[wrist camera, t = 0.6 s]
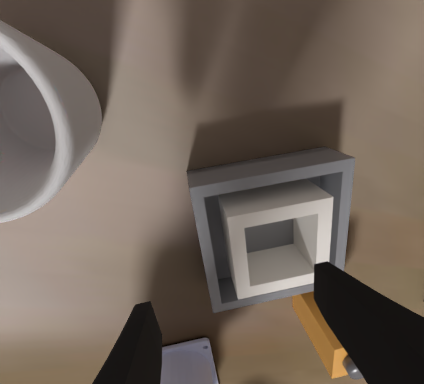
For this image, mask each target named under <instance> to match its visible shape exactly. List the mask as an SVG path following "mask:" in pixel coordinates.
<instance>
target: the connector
mask: <svg viewBox="0 0 424 384" xmlns="http://www.w3.org/2000/svg"><path fill="white" fill-rule="evenodd" d="M293 308H294V310H295V312H296V314H297V316H298V318H299V319H300V321H301V323H302V325H303V327H304V329H305V330H306V332H307V334H308V336H309V338H310V340H311V341H312V343H313V345H314V347H315V349H316V351H317V352H318V354H319V356H320V358H321V360H322V362H323V363H324V365H325V367H326V369H327V371H328V373H329V375H330V376H331V378H332V379H333V378H337V377H341V376H345V375H349V376H350V378H352V379H361V378H364V377H363V376H362V374H361V373H360V371H359V370H358V368H357V367H356V365H355V364H354V362H353V361H352V360H351V358H350V357H349V355H348V354H347V352H346V351H345V349H344V348H343V346H342V345H341V343H340V342H339V341H338V339H337V338H336V336H335V335H334V333H333V332H332V330H331V329H330V327H329V326H328V324H327V323H326V321H325V319H324V317H323V316H322V314H321V312H320V310H319V308H318V306H317V304H316V302H315V300H314V291H312V292H307V293H303V294H298V295H294V296H293Z"/></svg>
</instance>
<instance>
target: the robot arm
mask: <svg viewBox="0 0 424 384" xmlns="http://www.w3.org/2000/svg"><path fill="white" fill-rule="evenodd" d="M314 300H315V302H316V304H317V306H318V308H319V310H320V312H321V314H322V316H323V317H324V319H325V321H326V323H327V324H328V326H329V327H330V329H331V330H332V332H333V333H334V335H335V336H336V338H337V339H338V341H339V342H340V343H341V345H342V346H343V348H344V349H345V351H346V352H347V354H348V355H349V357H350V358H351V360H352V361H353V362H354V364H355V365H356V367H357V368H358V370H359V371H360V373H361V374H362V376H363V377H364V379H365V380H366V382H367V383H368V384H424V317H422V316H420V315H418V314H416V313H414V312H412V311H410V310H409V309H407V308H405V307H403V306H401V305H399V304H398V303H396V302H394V301H392V300H390V299H389V298H387V297H385V296H383V295H382V294H380V293H378V292H377V291H375V290H373V289H372V288H370V287H368V286H367V285H365V284H363V283H362V282H360V281H358V280H357V279H355V278H354V277H352V276H350V275H349V274H347V273H346V272H344V271H342V270H341V269H339V268H338V267H336V266H334V265H333V264H331V263H330V262H328V261H326V262H321V263H317V264H314ZM92 384H219V383H218V378H217V374H216V369H215V365H214V360H213V355H212V351H211V346H210V341H209V339H208V338H201V339H196V340H192V341H188V342H183V343H179V344H175V345H170V346H166V347H162V333H161V331H160V328H159V325H158V322H157V319H156V316H155V313H154V310H153V308H152V305H151V302H150V301H149V302H145V303H140V304H136V305H135V306H134V308H133V310H132V312H131V314H130V316H129V318H128V320H127V322H126V324H125V326H124V328H123V330H122V332H121V334H120V336H119V338H118V340H117V341H116V343H115V345H114V347H113V349H112V351H111V352H110V354H109V356H108V358H107V360H106V361H105V363H104V365H103V367H102V368H101V370H100V372H99V373H98V375H97V377H96V378H95V380H94V382H93V383H92Z"/></svg>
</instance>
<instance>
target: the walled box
mask: <svg viewBox="0 0 424 384" xmlns="http://www.w3.org/2000/svg"><path fill="white" fill-rule="evenodd" d="M354 166H355V158H354V157H352V156H349V155H346V154H344V153H341V152H338V151H336V150H333V149H330V148H328V147H320V148H314V149H309V150H303V151H297V152H292V153H286V154H280V155H275V156H269V157H263V158H258V159H252V160H246V161H241V162H235V163H230V164H224V165H218V166H213V167H207V168H201V169H196V170H190V171H187V177H188V184H189V190H190V196H191V201H192V206H193V211H194V216H195V222H196V227H197V232H198V237H199V242H200V247H201V253H202V258H203V263H204V268H205V273H206V279H207V284H208V289H209V294H210V299H211V304H212V310H213V313H217V312H222V311H226V310H231V309H235V308H240V307H244V306H249V305H253V304H258V303H262V302H267V301H271V300H276V299H280V298H285V297H289V296H294V295H298V294H303V293H307V292H312V291H314V264H317V263H321V262H326V261H328V262H330V263H331V264H333V265H334V266H336V267H338V268H339V269H341V270H342V271H344V265H345V255H346V245H347V235H348V225H349V215H350V205H351V195H352V185H353V175H354Z"/></svg>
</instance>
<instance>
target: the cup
mask: <svg viewBox="0 0 424 384" xmlns="http://www.w3.org/2000/svg"><path fill="white" fill-rule="evenodd" d="M101 126H102V112H101V107H100V102H99V100H98V97H97V94H96V92H95V90H94V88H93V87H92V85H91V84H90V82H89V81H88V79H87V78H86V77H85V76H84V74H83V73H82V72H81V71H80V70H79V69H78V68H77V67H76V66H75V65H73V64H72V63H71V62H70V61H68V60H67V59H66V58H64V57H63V56H61V55H60V54H58V53H56V52H55V51H53V50H51V49H50V48H48V47H46V46H44V45H43V44H41V43H39V42H37V41H36V40H34V39H32V38H31V37H29V36H27V35H25V34H24V33H22V32H20V31H18V30H17V29H15V28H13V27H12V26H10V25H8V24H6V23H5V22H3V21H1V20H0V223H2V222H7V221H11V220H15V219H18V218H21V217H23V216H26V215H28V214H30V213H32V212H34V211H36V210H37V209H39V208H41V207H42V206H43V205H45V204H46V203H47V202H49V201H50V200H51V199H52V198H53V197H54V196H55V195H56V194H57V193H58V192H59V191H60V189H61V188H62V187H63V185H64V184H65V183H66V182H67V180H68V179H69V178H70V177H71V175H72V174H73V173H74V172H75V170H76V169H77V168H78V167H79V165H80V164H81V163H82V161H83V160H84V159H85V158H86V156H87V155H88V154H89V153H90V151H91V150H92V149H93V147H94V145H95V144H96V142H97V140H98V137H99V135H100V131H101Z"/></svg>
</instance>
